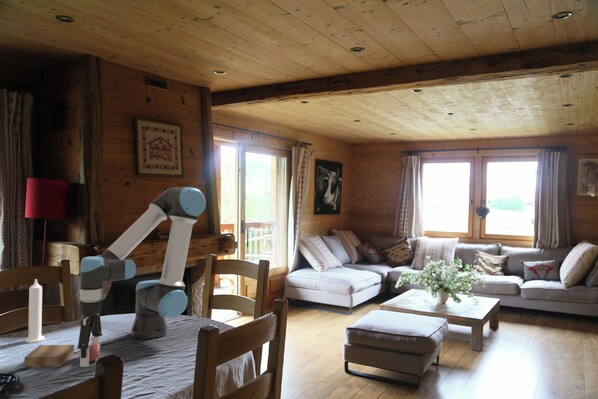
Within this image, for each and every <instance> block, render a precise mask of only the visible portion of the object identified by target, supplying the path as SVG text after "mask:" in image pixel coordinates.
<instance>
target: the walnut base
mask: <svg viewBox="0 0 598 399" xmlns="http://www.w3.org/2000/svg"><path fill="white" fill-rule="evenodd" d="M74 355H75V344H40V345H39V346H37V347H36V348H35V349H33V350H32V351H30V352H28V353H27V355H26V356H24V368H55V367H56V368H59V367H62V366H63V365H65V364H66V362H68V361H69V360H70V358H72V357H73V356H74Z"/></svg>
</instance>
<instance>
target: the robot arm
mask: <svg viewBox="0 0 598 399" xmlns="http://www.w3.org/2000/svg"><path fill="white" fill-rule="evenodd" d="M206 203H207V201H206V198H205V195H204V193H203V192H202V191H201V190H200V189H198V188H196V187H192V186H191V187H189V186H187V187H186V186H183V187H181V186H180V187H178V186H174V187H170V188H167V189H166V190H164V191H163V192H162V193H161V194H159V195H158V196H157V197H156V198H154V200H153V201H151V202H150V204H149V205H148V209H147V210H146V211H145V212H143V213H142V215H141V216H140V217H139V218H137V220H136V221H135V222H133V223H132V225H130V226H129V227H128V228H127V229H126V230H125V231H124V232H123V233H122V234H121V235H120V236H119V237H118V238H117V239H116V240H115V241H114V242H112V244H111V245H110V246H109V247H108V248H107V249H106V250H105V251H104V252H102V254H98V255H96V256H86V257H83V258H82V259H80V260H81V261H80V268H79V269H80V270H79V272H80V275H79V276H80V277H79V278H80V279H79V280H80V281H79V291H78V293H79V312H81V313H83V314H84V316H83V318H81V319H80V329H79V336H78V343H77V344H78V345H77V347H76V348H77V349H78V350H80V351H79V355H80V356H79V357H80V358H79V367H80V368H84V367H85V368H87V367H88V368H89V366H90V361H89V347H88V346H89V345H93V344H96V343H97V344H99V345H100V339H101V338H100V337H102V336H103V333H102V332H103V331H102V322H101V321H102V320H101V311H102V310H103V300H102V299H103V298H104V297H103V296H104V295H103V294H104V283H108V282H116V281H126V280H129V279H132V278H134V277H135V275H136V272H137V266H136V263H135V261H134V260H133V259H131V258H130V259H127V258H126V257H127V256H128V255H129V254H130V253H131V252H132V251H134V249H135V248H136V247H137V246H138V245H139V244H141V243H142V241H143V240H144V239H145V238H146V237H148V235H149V234H150V233H151V232H152V231H154V229H156V227H157V226H158V225H159V224H160V223H161V222H163V221H166V220H168V218H170V220H171V221H172V222H171V225H170V230H169V231H170V232H169V236H168V237H169V238H168V243H167V246H166V250H165V251H166V252H165V256H164V261H163V266H162V272H161V277H160V278H159V279H151V280H143V281H139V282H137V284H136V287H135V318H134V320H133V324H132V327H131V329H130V336H131V338H134V339H138V338H139V340H150V339H149V338H153V339H156V338H155V337H158V338H161V337H160V336H162V335H164V336H166V335H167V334H168V333H167V332H169V331H168V330H169V329H168V325H167V324H168V323H167V321H166V318H168V319H172V318H173V319H174V318H177V317H179V316H180V315H181V314H182V313H184V311H185V310H186V308H187V306H188V300H189V299H188V296H187V295H186V293H185V288H186V285H185V283H184V281H183V278H184V274H185V268H186V265H187V264H186V263H187V257H188V253H189V247H190V241H191V236H192V231H193V225H194V224H195V223H197V222H198V219H199V216H200V215H202V213H204V211H205V208H206ZM166 333H167V334H166ZM165 334H166V335H165ZM162 337H163V336H162ZM90 340H91V341H90Z"/></svg>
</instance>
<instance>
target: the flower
mask: <svg viewBox="0 0 598 399" xmlns="http://www.w3.org/2000/svg"><path fill="white" fill-rule="evenodd" d="M88 347H89V362H92V361H95V360H97V359H98V358H99V356H100V354H101V352H100V348H101V344H100V343H99V344H97V343H96V344H93V345H91V344H89V345H88ZM78 356H79V357H78V358H79V359H80V354H79V355H78Z"/></svg>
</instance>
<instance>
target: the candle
mask: <svg viewBox="0 0 598 399" xmlns="http://www.w3.org/2000/svg"><path fill="white" fill-rule="evenodd" d="M28 288H29V289H28V296H29V297H28V335H27V336H28V337H26V338H24V342H25V343H27V344H34V343H39V342H40V343H41V342H43V341H45V339H46V338H45V336H44V335H42V322H43V321H42V318H43V317H42V316H43V314H42V312H43V311H42V310H43V286H42V285H40V284H39V283H38V279H37V278H35V279H34V283H33V284H32V285H30V286H29V287H28Z"/></svg>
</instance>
